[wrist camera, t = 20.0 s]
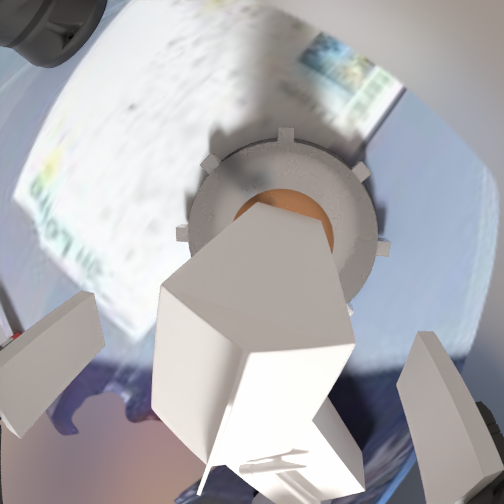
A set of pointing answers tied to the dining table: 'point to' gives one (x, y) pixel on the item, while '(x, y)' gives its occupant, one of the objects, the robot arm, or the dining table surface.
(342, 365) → the milk
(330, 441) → the tissue box
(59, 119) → the dining table surface
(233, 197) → the sprocket
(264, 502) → the plastic bottle
